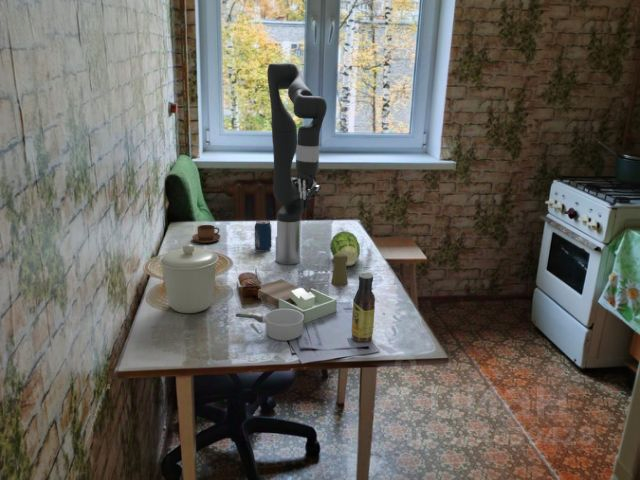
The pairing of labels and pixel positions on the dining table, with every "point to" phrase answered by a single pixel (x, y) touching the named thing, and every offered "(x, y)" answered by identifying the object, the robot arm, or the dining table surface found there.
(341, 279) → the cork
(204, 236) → the cup and saucer
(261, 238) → the soda can
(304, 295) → the tile
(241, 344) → the dining table surface
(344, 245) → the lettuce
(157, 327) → the dining table surface
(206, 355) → the dining table surface
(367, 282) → the sauce bottle
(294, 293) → the tile
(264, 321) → the saucepan
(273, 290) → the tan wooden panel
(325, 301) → the tray
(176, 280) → the canister
